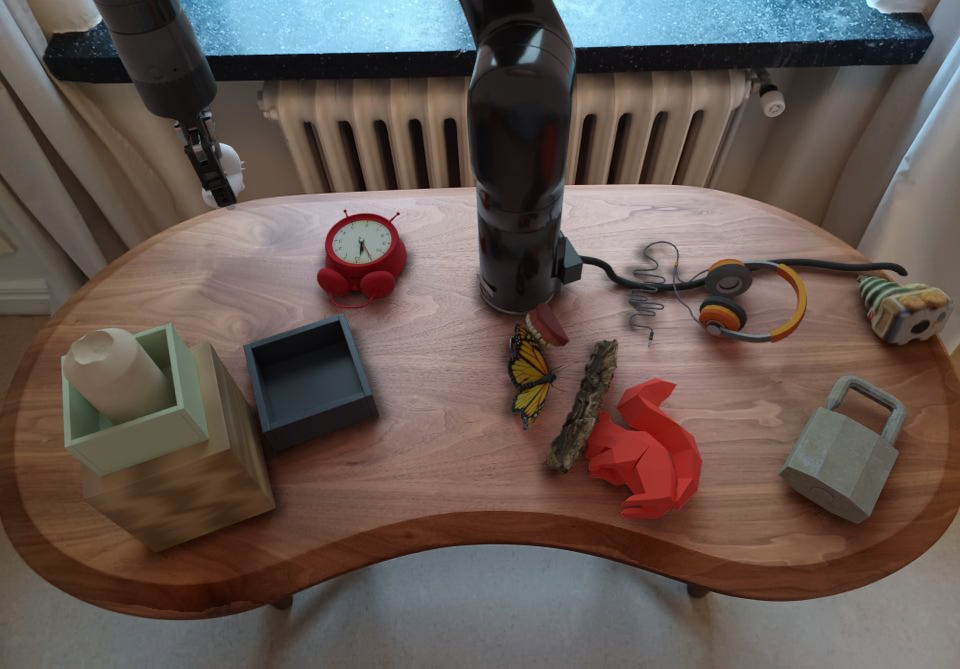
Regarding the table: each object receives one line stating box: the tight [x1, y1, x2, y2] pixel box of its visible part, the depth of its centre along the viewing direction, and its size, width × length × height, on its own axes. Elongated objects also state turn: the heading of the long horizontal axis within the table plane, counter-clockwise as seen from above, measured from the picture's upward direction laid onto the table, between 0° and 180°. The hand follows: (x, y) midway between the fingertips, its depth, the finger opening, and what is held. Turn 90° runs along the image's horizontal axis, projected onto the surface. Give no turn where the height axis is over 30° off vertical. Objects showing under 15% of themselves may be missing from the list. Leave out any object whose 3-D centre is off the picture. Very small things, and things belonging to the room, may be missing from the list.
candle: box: [63, 327, 177, 426], centre depth 55 cm, size 6×6×10 cm
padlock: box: [777, 375, 908, 525], centre depth 69 cm, size 4×8×15 cm
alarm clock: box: [316, 208, 408, 310], centre depth 84 cm, size 10×6×15 cm
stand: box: [80, 340, 277, 553], centre depth 65 cm, size 12×12×14 cm
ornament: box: [856, 274, 955, 346], centre depth 78 cm, size 8×6×10 cm
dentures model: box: [508, 303, 570, 370], centre depth 75 cm, size 6×4×8 cm
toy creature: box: [201, 142, 246, 211], centre depth 80 cm, size 5×8×6 cm, turn 173°
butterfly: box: [507, 322, 581, 432], centre depth 72 cm, size 12×9×5 cm
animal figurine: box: [584, 377, 703, 520], centre depth 69 cm, size 12×15×5 cm
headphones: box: [628, 240, 808, 348], centre depth 79 cm, size 17×5×20 cm
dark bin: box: [242, 312, 380, 453], centre depth 74 cm, size 12×12×5 cm
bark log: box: [542, 338, 620, 474], centre depth 71 cm, size 18×5×7 cm, turn 157°
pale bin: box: [60, 322, 209, 477], centre depth 57 cm, size 9×9×6 cm
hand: (222, 182), depth 81 cm, fingers closed on toy creature, 7 cm apart
